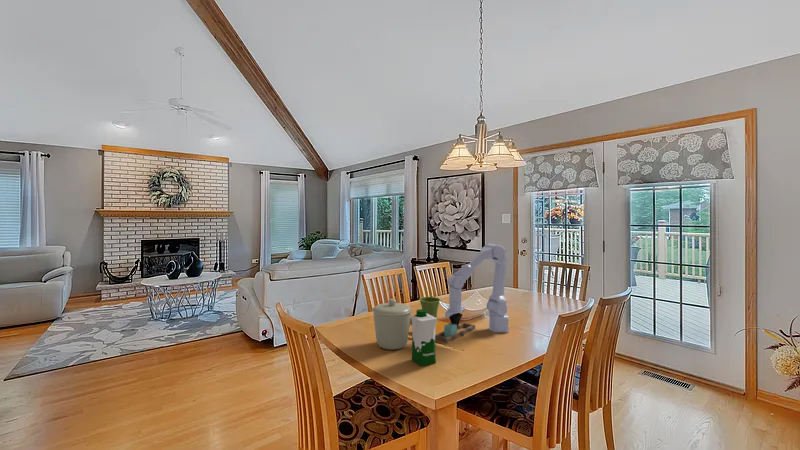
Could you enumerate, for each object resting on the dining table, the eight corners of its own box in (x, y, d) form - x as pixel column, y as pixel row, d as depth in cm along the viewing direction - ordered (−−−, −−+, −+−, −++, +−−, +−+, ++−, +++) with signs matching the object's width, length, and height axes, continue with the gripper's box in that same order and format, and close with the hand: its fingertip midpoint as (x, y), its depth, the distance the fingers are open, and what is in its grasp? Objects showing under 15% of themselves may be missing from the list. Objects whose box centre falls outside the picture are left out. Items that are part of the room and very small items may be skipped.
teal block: (449, 334, 174) (450, 322, 174) (456, 336, 172) (456, 324, 171) (444, 336, 170) (444, 325, 170) (451, 338, 168) (451, 327, 168)
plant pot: (415, 317, 205) (415, 297, 204) (433, 315, 210) (433, 295, 209) (425, 323, 194) (425, 302, 194) (444, 320, 199) (444, 300, 199)
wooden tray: (461, 327, 187) (462, 322, 187) (476, 331, 182) (476, 325, 182) (433, 341, 167) (433, 334, 167) (448, 345, 162) (448, 339, 162)
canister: (366, 341, 167) (366, 296, 166) (402, 336, 174) (402, 292, 173) (380, 356, 150) (380, 305, 149) (419, 349, 157) (419, 301, 156)
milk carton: (427, 355, 151) (427, 307, 150) (439, 363, 143) (439, 313, 142) (408, 359, 147) (409, 310, 146) (420, 368, 139) (420, 316, 138)
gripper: (456, 296, 181) (455, 323, 182) (439, 302, 170) (439, 330, 171) (468, 298, 177) (468, 326, 177) (452, 304, 166) (452, 334, 166)
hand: (455, 328), depth 174 cm, fingers closed
